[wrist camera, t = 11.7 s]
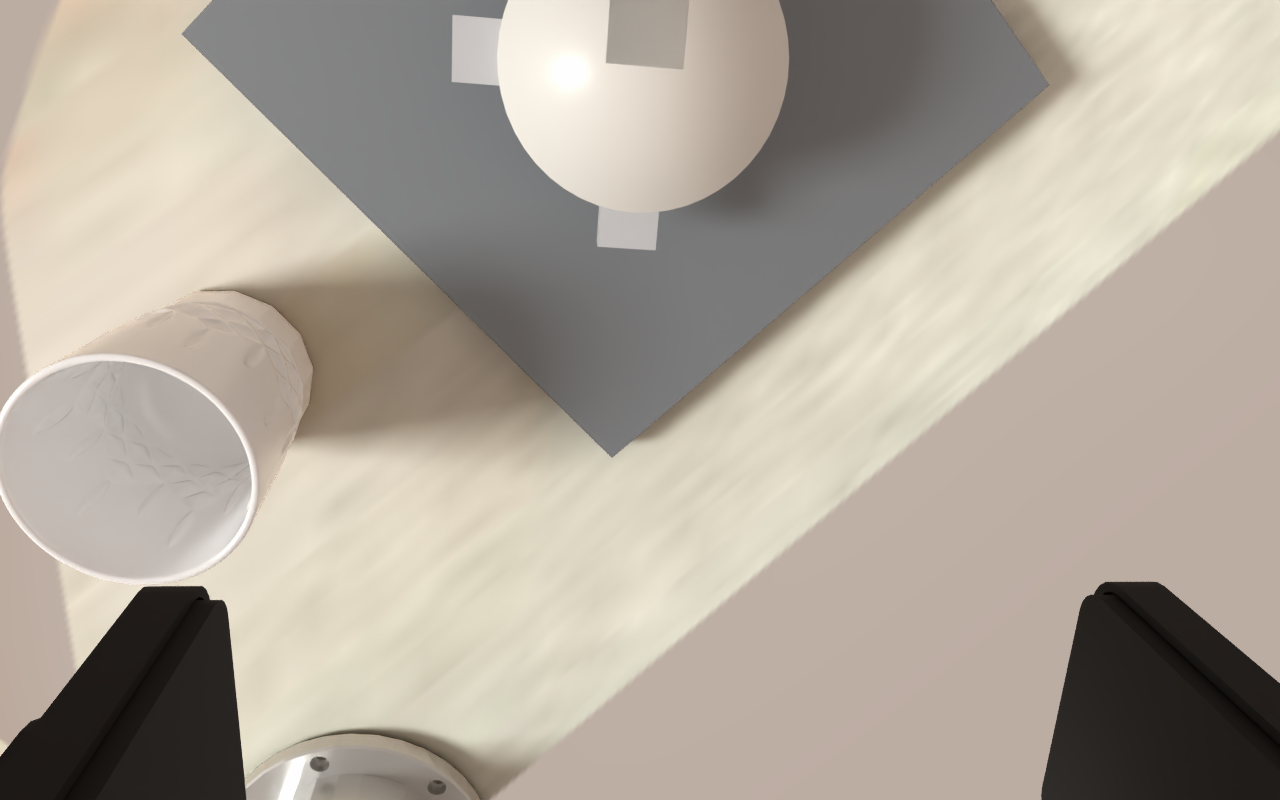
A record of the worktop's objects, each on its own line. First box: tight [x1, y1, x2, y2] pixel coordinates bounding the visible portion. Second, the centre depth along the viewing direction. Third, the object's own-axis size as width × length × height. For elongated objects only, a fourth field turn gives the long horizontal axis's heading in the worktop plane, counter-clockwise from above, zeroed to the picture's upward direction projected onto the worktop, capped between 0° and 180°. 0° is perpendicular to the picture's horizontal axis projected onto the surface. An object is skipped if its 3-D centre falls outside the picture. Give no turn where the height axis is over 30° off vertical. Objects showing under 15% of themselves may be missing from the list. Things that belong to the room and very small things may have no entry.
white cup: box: [0, 291, 313, 585], centre depth 35 cm, size 8×8×10 cm
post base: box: [182, 0, 1049, 457], centre depth 35 cm, size 22×22×4 cm
